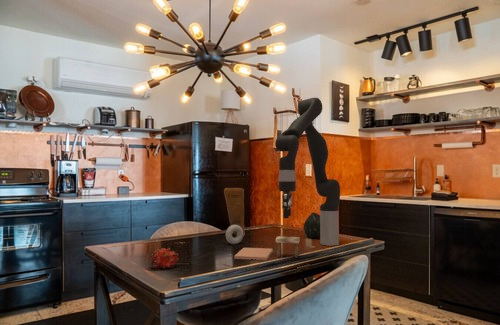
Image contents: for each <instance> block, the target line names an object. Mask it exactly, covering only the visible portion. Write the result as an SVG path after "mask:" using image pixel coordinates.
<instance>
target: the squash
mask: <svg viewBox="0 0 500 325" xmlns="http://www.w3.org/2000/svg"><path fill="white" fill-rule="evenodd" d="M302 228H303V232H304V234H305V236H306V237H307V238H310V239H316V238H317V239H318V240H320V213H316V212H310V214H309V215H308V217H307V218H306V219H305V221H304V223H303V227H302Z"/></svg>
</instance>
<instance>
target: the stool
mask: <svg viewBox="0 0 500 325" xmlns="http://www.w3.org/2000/svg"><path fill="white" fill-rule="evenodd" d="M300 239H301V237H300V236H279V235H278V236H276V238H275V243H277V249H276V250H277V253H276V254H277V257H278V258H280V257H281V256H282V244H283V243H284V244H294V258H295V259H298V258H299V257H298V256H299V243H300Z"/></svg>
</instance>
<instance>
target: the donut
mask: <svg viewBox="0 0 500 325" xmlns="http://www.w3.org/2000/svg"><path fill="white" fill-rule="evenodd" d="M234 231H236V232H237V235H235V237H233V234H232V233H233V232H234ZM225 238H226V241H227V242H228V243H229V244H231V245H237V244H239V243H240V242H241V241H242V240H243V238H244V236H243V230H242V228H241V227H240V226H238V225H231V226H230V225H229V226H228V227H227V229H226V230H225Z"/></svg>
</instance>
